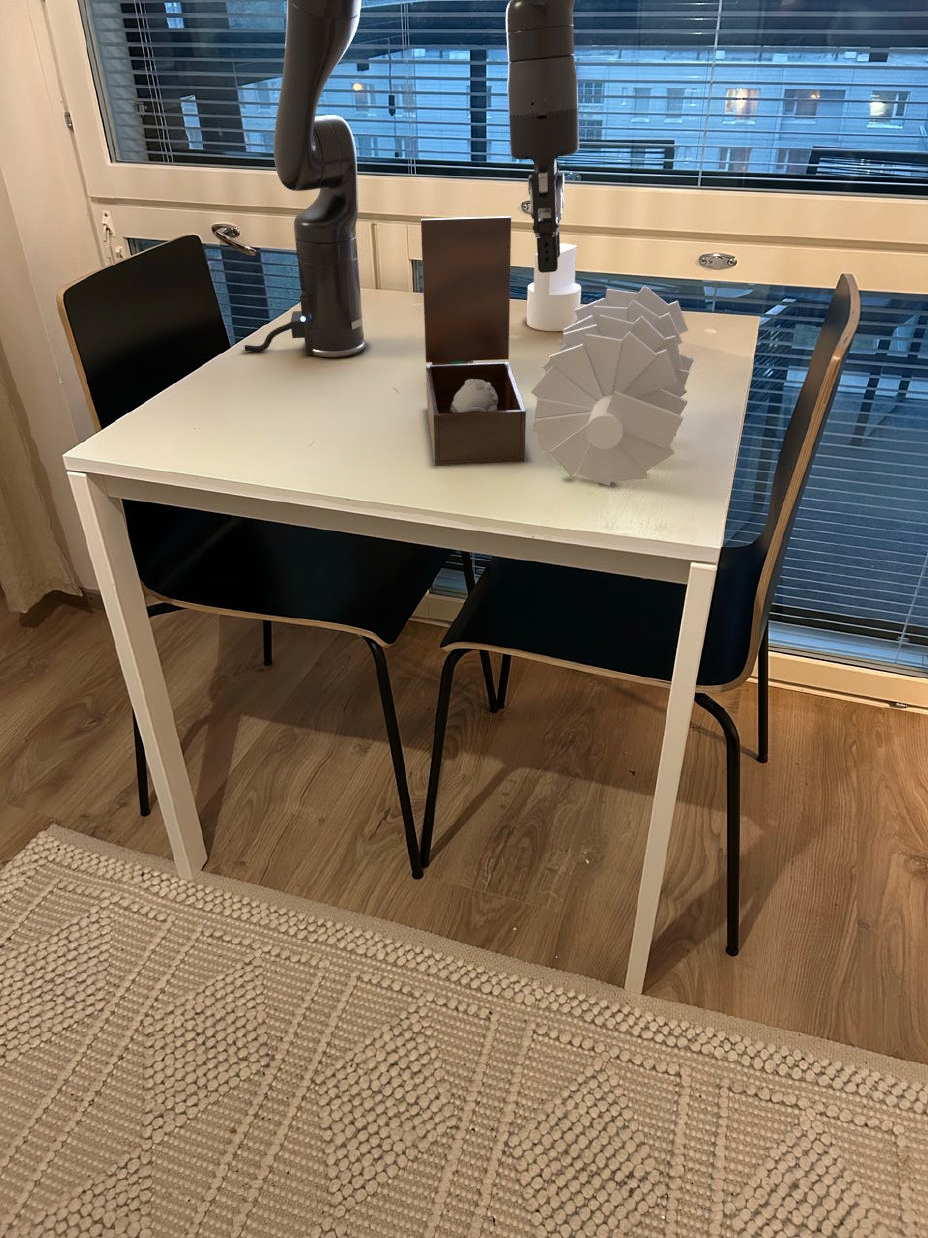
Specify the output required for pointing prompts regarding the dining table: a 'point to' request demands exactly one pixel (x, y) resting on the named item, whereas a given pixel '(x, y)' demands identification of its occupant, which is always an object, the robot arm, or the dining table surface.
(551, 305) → the base with upright slab
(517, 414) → the chest
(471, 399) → the grey rounded lumpy piece
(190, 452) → the dining table surface
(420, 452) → the dining table surface
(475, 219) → the chest lid
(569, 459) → the spiral staircase
